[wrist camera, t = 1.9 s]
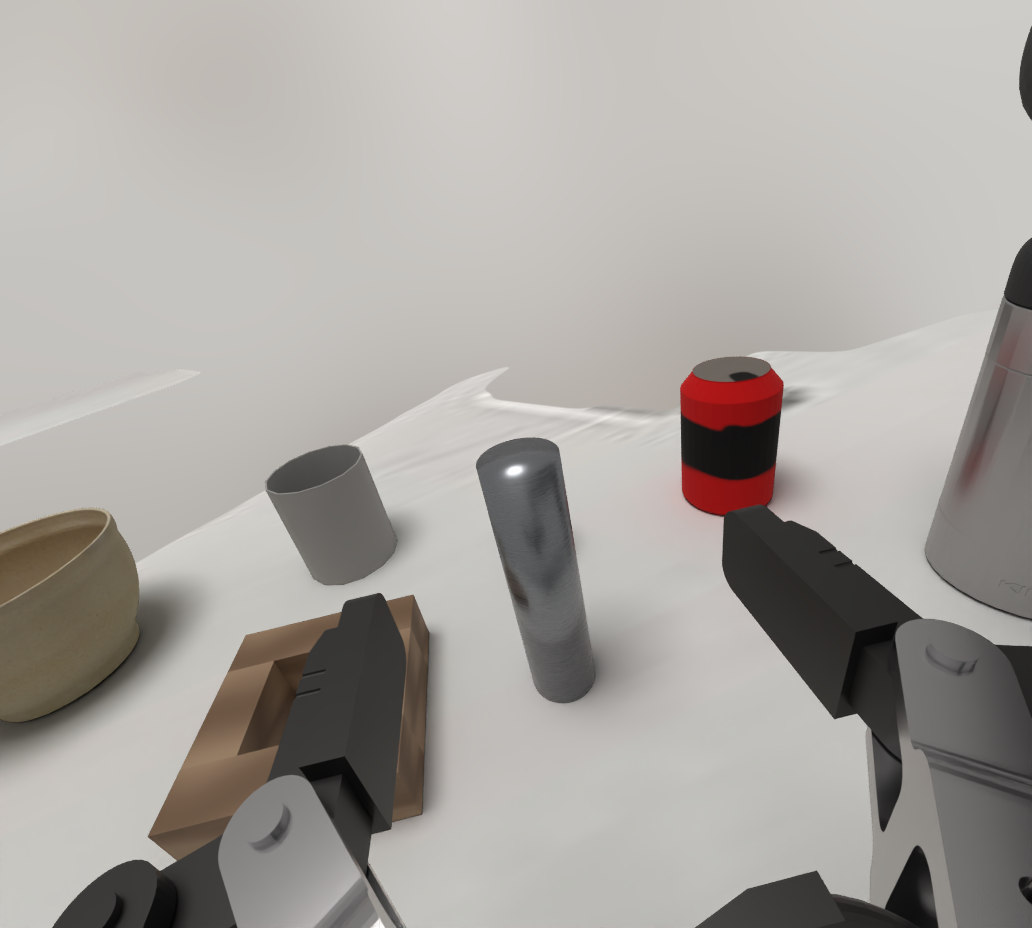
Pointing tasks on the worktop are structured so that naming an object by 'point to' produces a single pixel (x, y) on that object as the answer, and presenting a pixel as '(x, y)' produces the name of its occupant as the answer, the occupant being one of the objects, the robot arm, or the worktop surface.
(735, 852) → the worktop surface
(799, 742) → the worktop surface
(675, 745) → the worktop surface
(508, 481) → the long steel pin
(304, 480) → the cup
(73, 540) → the planter bowl
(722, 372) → the soda can
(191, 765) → the walnut bored block
